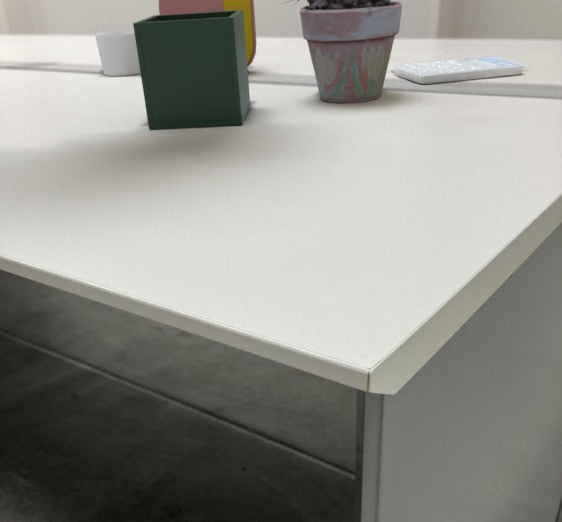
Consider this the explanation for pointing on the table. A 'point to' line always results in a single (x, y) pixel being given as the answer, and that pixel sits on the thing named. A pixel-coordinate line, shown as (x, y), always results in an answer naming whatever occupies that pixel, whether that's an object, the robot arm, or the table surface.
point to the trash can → (194, 69)
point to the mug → (118, 53)
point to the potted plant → (350, 46)
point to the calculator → (458, 70)
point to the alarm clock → (180, 3)
